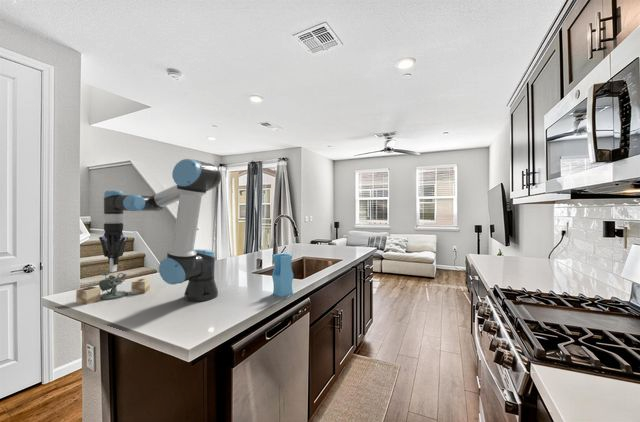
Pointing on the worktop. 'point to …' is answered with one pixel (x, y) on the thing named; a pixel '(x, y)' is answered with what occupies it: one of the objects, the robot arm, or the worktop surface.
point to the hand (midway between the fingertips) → (113, 271)
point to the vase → (282, 275)
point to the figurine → (109, 284)
